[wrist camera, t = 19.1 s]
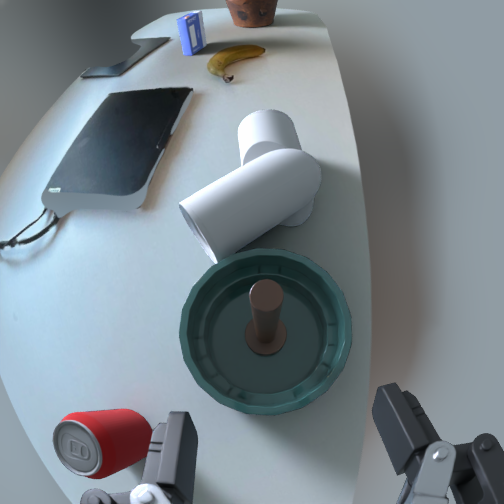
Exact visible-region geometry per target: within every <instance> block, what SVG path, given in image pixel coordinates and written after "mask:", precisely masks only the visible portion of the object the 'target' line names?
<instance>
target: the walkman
mask: <svg viewBox="0 0 504 504" xmlns="http://www.w3.org/2000/svg"><path fill="white" fill-rule="evenodd" d="M177 24H178V29H179V34H180V39H181V43H182V48H183V53H184V55H191V56H192V55H194V54H195V53H196V52H198V51H199V50H201V49H202V48H203V47H205V46H206V45H207V44H206V37H205V30H204V24H203V17H202V11H193V12H191V13H189V14H187V15H185V16H183V17H181V18H179V19H177Z"/></svg>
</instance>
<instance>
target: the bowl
mask: <svg viewBox="0 0 504 504" xmlns="http://www.w3.org/2000/svg"><path fill="white" fill-rule="evenodd" d="M265 279H268V280H273V281H275V282H277V283H278V284H279V285H280V286H281V288H282V290H283V294H284V298H283V303H282V307H281V312H280V317H279V319H280V320H281V321H282V322H283V323H284V325H285V327H286V331H287V338H286V341H285V344H284V345H283V347H282V349H281V350H280V351H279V352H277V353H276V354H274V355H271V356H260V355H258V354H256V353H254V352H253V351H252V350H251V349H250V348H249V347H248V345H247V343H246V340H245V329H246V326H247V324H248V323H249V322H250V320H252V319H253V314H252V309H251V303H250V297H249V294H250V290H251V288H252V286H253V285H254V284H255V283H257V282H258V281H261V280H265ZM179 338H180V344H181V349H182V354H183V359H184V362H185V364H186V365H187V367H188V369H189V371H190V372H191V374H192V376H193V377H194V379H195V381H196V383H197V384H198V385H199V386H200V387H201V388H202V389H203V390H204V391H206V392H207V393H208V394H209V395H210V396H211V397H213V398H214V399H215V400H216V401H217V402H219V403H220V404H223V405H225V406H227V407H230V408H232V409H235V410H237V411H240V412H242V413H246V414H256V415H278V414H282V413H286V412H290V411H293V410H297V409H300V408H303V407H305V406H306V405H308V404H309V403H311V402H312V401H314V400H315V399H317V398H318V397H320V396H321V395H322V394H324V393H325V392H326V391H327V390H328V389H329V388H330V387H331V385H332V384H333V383H334V381H335V380H336V379H337V377H338V376H339V375H340V373H341V372H342V370H343V369H344V366H345V363H346V360H347V357H348V354H349V351H350V348H351V344H352V317H351V314H350V311H349V308H348V306H347V303H346V300H345V297H344V294H343V292H342V291H341V289H340V288H339V287H338V285H337V284H336V283H335V281H334V280H333V279H332V277H331V276H330V275H329V274H328V273H327V271H325V270H324V269H322V268H321V267H320V266H318V265H317V264H315V263H314V262H313V261H311V260H310V259H308V258H307V257H304V256H301V255H298V254H295V253H292V252H289V251H287V250H284V249H267V248H256V249H252V250H247V251H243V252H239V253H235V254H232V255H230V256H229V257H227V258H225V259H223V260H222V261H220V262H218V263H217V264H215V265H213V266H211V267H210V268H209V269H208V271H207V272H206V273H205V274H204V275H203V276H202V277H201V278H200V279H199V280H198V281H197V282H196V283H195V284H194V286H193V287H192V289H191V292H190V294H189V296H188V298H187V300H186V302H185V304H184V306H183V309H182V314H181V322H180V329H179Z"/></svg>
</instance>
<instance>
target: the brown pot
mask: <svg viewBox="0 0 504 504" xmlns="http://www.w3.org/2000/svg"><path fill="white" fill-rule="evenodd" d="M277 1H278V0H226V3H227V5H228V8H229V11H230V13H231V16H232V19H233V21H234V24H235V25H236V26H240V27H261V26H266V25H269V24H272V23H273V21H274V16H275V11H276V6H277Z"/></svg>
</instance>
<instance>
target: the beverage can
mask: <svg viewBox="0 0 504 504" xmlns="http://www.w3.org/2000/svg"><path fill="white" fill-rule="evenodd" d="M152 433H153V431H152V429H151V426H150V425H149V423H148V422H147V421H146V419H145V418H144V417H143V416H141V415H140V414H139V413H137V412H135V411H133V410H129V409H114V410H101V411H88V412H75V413H71V414H69V415H67V416H66V417H64V418H63V420H62V421H61V422H60V423H59V424H58V425H57V426H56V428H55V430H54V433H53V445H54V449H55V452H56V454H57V456H58V458H59V459H60V461H61V462H62V464H63V465H64V466H65V467H66V468H67V469H69V470H70V471H71V472H73V473H75V474H77V475H80V476H85V477H88V478H91V479H102V478H105V477H107V476H110V475H112V474H114V473H116V472H118V471H120V470H123V469H125V468H127V467H129V466H130V465H132V464H134V463H136V462H138V461H140V460H141V459H143V458H145V457H146V456H147V454H148V452H149V450H148V449H149V445H150V443H151V442H150V441H151V437H152Z"/></svg>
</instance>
